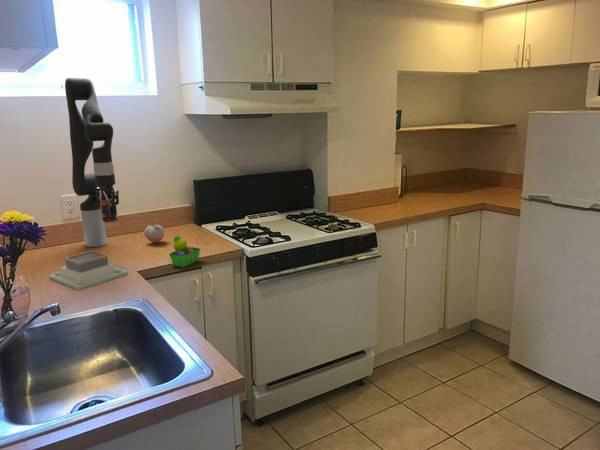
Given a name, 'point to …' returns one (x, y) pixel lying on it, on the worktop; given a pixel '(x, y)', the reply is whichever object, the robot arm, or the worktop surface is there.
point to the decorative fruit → (154, 233)
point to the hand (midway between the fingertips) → (109, 213)
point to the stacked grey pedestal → (87, 270)
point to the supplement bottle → (107, 211)
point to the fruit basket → (183, 253)
